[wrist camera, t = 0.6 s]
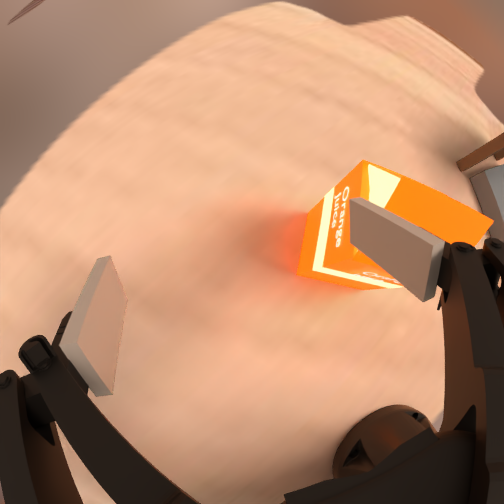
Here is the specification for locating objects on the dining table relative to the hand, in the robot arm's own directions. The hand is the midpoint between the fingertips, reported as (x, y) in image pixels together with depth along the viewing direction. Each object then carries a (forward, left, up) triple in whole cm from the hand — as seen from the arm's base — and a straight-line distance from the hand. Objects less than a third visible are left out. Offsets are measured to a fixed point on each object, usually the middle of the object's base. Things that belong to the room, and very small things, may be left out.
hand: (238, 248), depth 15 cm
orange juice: (-2, -13, -17) cm, 22 cm away
